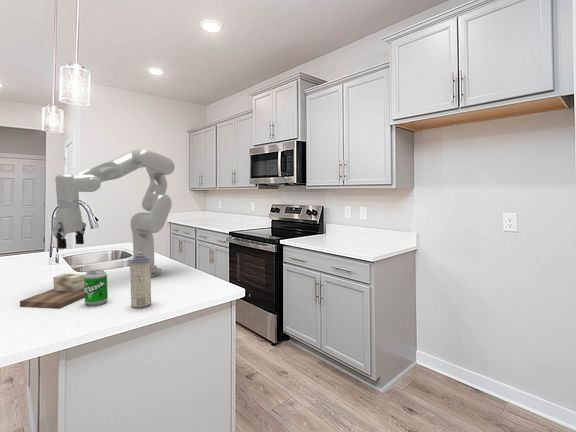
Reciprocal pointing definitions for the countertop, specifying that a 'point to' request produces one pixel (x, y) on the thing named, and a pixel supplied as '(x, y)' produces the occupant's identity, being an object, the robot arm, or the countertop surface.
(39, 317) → the countertop surface
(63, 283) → the block
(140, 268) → the aerosol can
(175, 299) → the countertop surface
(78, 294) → the board
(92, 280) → the soda can
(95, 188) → the robot arm
